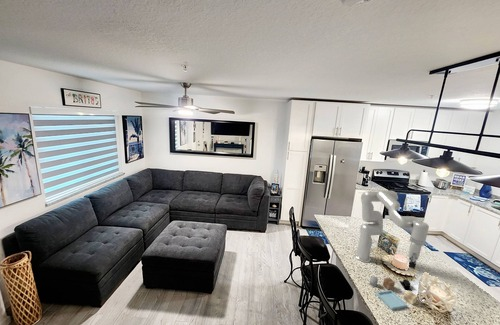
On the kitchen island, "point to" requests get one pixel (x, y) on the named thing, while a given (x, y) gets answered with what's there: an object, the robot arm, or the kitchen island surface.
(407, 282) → the black lumpy block
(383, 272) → the kitchen island surface
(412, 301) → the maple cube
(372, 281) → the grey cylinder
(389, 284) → the walnut block
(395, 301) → the tray
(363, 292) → the kitchen island surface
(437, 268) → the kitchen island surface
